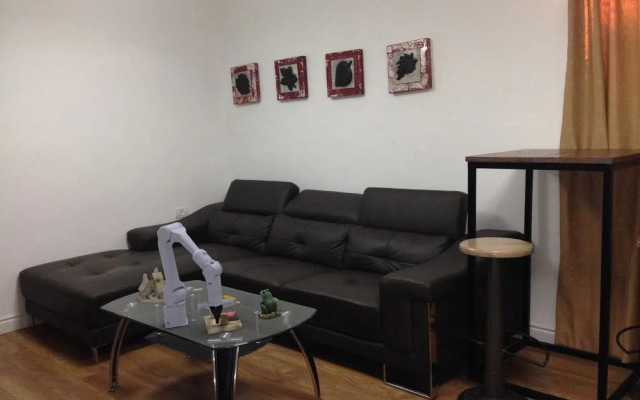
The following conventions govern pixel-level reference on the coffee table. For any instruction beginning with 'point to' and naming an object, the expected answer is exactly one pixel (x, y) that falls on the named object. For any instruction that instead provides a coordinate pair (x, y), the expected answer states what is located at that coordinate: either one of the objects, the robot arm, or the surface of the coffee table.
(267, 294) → the frog figurine
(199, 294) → the coffee table surface
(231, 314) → the red push button
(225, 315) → the walnut slider
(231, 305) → the emergency button
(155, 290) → the ceramic cottage
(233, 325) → the control panel
